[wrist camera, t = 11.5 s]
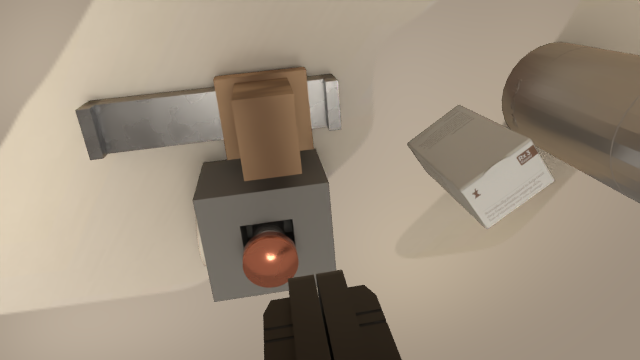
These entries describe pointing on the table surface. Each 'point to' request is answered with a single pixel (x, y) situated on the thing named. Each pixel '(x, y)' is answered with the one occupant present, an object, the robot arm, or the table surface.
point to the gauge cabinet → (261, 221)
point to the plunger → (270, 255)
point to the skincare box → (481, 164)
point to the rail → (180, 118)
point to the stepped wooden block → (265, 120)
